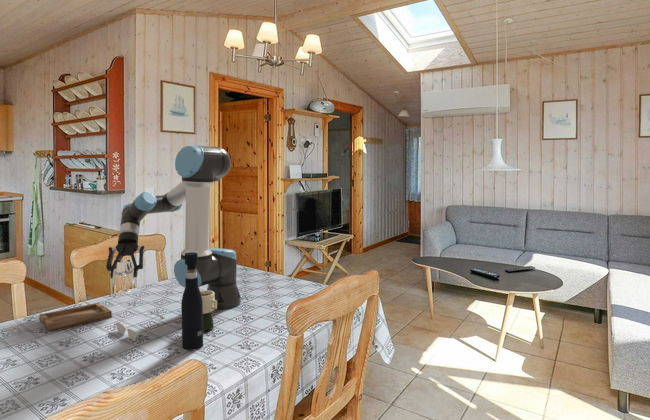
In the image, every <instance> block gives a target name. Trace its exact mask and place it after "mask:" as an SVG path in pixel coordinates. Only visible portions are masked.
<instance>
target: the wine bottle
mask: <svg viewBox="0 0 650 420" xmlns="http://www.w3.org/2000/svg"><path fill="white" fill-rule="evenodd" d="M196 264H198V253H195V252H190V253H185V265H187V271H188V272H187V273H186V278H185V285H186V287H185V288H184V290H183V293H182V298H181V304H180V305H181V325H182V328H181V347H182V349H183V350H186V351H195V350H194V349H196V350H198V348H199V349H201V348H203V346H204V331H203V301H202V296H201V292H200V291H201V290H200V287H198V277H197V272H196V271H195V270H196Z"/></svg>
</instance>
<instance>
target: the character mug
mask: <svg viewBox="0 0 650 420" xmlns="http://www.w3.org/2000/svg"><path fill="white" fill-rule="evenodd" d="M200 292H201V296H202V301H203V332H204V331H208V330H211V329H213V328H214V327H215V326H214V319H213V318H214V317H213V313H212V312H213V311H214V310H218V309H217V301H216V300H215V295H214V292H213V291H207V290H200Z"/></svg>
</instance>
